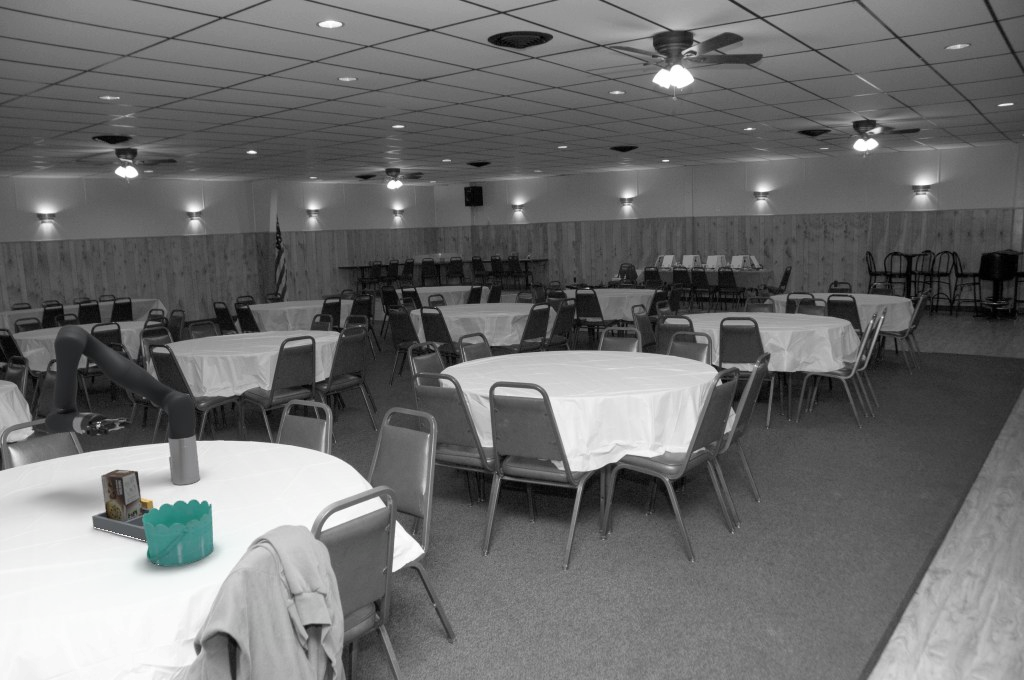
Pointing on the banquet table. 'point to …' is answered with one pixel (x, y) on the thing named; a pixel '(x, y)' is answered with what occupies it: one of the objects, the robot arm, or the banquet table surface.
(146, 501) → the grey divided tray
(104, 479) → the coffee box
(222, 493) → the banquet table surface
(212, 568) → the banquet table surface
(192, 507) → the basket
